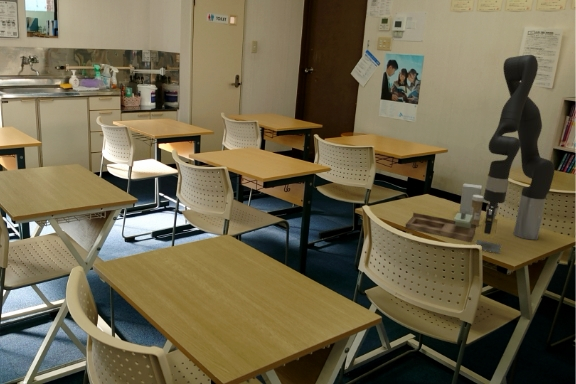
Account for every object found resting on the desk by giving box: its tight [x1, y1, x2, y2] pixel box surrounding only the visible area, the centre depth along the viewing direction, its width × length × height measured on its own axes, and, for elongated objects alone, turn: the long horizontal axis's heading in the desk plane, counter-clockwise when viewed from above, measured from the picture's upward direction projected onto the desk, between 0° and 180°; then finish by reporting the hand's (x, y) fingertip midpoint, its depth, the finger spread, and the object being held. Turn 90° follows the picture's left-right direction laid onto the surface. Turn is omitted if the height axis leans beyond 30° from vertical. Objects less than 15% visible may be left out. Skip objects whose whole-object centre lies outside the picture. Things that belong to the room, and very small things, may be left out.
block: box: [479, 216, 499, 239], centre depth 199 cm, size 5×5×6 cm
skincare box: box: [458, 183, 483, 215], centre depth 237 cm, size 8×6×15 cm
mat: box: [475, 239, 502, 254], centre depth 201 cm, size 10×10×1 cm
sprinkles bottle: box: [470, 195, 485, 227], centre depth 225 cm, size 5×5×13 cm
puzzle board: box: [404, 212, 477, 243], centre depth 215 cm, size 26×13×4 cm, turn 64°
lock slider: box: [452, 210, 473, 229], centre depth 211 cm, size 6×10×8 cm, turn 154°
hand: (488, 231), depth 200 cm, fingers closed on block, 5 cm apart
